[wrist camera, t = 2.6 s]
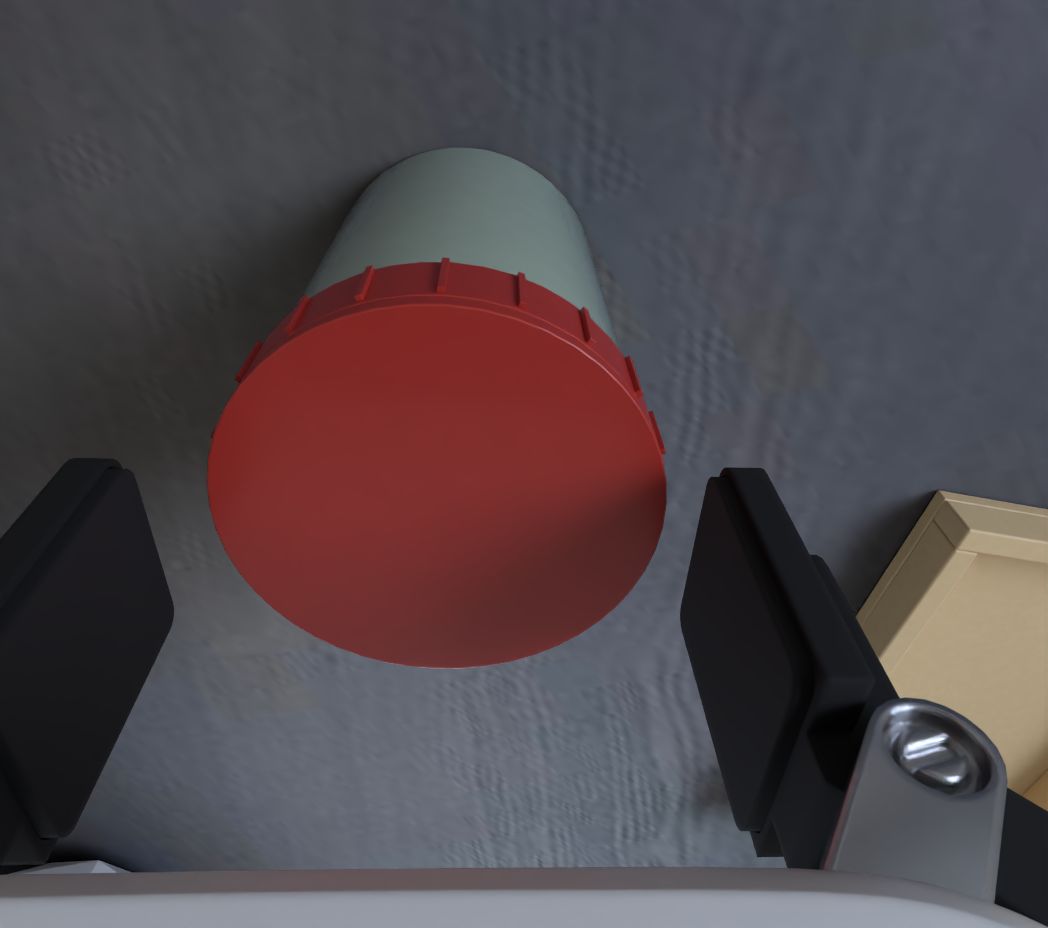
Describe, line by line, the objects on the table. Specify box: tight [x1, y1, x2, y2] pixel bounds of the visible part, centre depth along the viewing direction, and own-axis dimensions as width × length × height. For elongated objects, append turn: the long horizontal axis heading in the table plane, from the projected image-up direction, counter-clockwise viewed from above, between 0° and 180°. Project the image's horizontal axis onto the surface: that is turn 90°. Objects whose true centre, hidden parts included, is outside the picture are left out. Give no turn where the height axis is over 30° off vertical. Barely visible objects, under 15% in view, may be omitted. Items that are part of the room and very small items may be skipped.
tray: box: [856, 491, 1048, 811], centre depth 28 cm, size 17×13×2 cm
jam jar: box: [293, 148, 620, 350], centre depth 16 cm, size 7×7×9 cm
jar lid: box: [207, 258, 667, 669], centre depth 12 cm, size 7×7×2 cm
